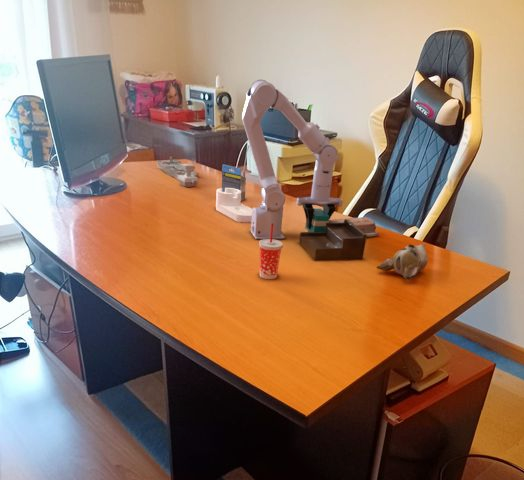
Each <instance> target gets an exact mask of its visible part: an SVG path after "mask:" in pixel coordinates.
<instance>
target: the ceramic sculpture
mask: <svg viewBox="0 0 524 480" xmlns="http://www.w3.org/2000/svg"><path fill="white" fill-rule="evenodd" d="M428 262H429V260H428V254H427V250H426V247H425V244H424V243H422V244H419V245H414V244H408V245H405V247H403V248H401V249H399V250H397V251H396V252H395V254H394V255H393V256H392V257H389V258H386V259H385V260H383V261H382V262H381V263H380V264H379V265H377V266H376V269H378V270H381V271H383V272H389V271H392V270H393V271H394V272H395V273H396V274H398V275H399V276H402V278H403V279H405V280H413V279H414V278H415V277H416V276H417V275H418V273H419V272H422V271H423V270H424V269H425V268H426V267H427V265H428Z"/></svg>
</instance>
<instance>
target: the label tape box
mask: <svg viewBox="0 0 524 480" xmlns="http://www.w3.org/2000/svg"><path fill="white" fill-rule="evenodd" d="M246 180H247V178H246V177H245V176H243V175H242V168H241V167H236V166H232V165H228V164H222V169H221V188H222V192H225V188H235V189H238V190H240V191H241V202H244V201H245V200H246V184H247V181H246Z"/></svg>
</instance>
